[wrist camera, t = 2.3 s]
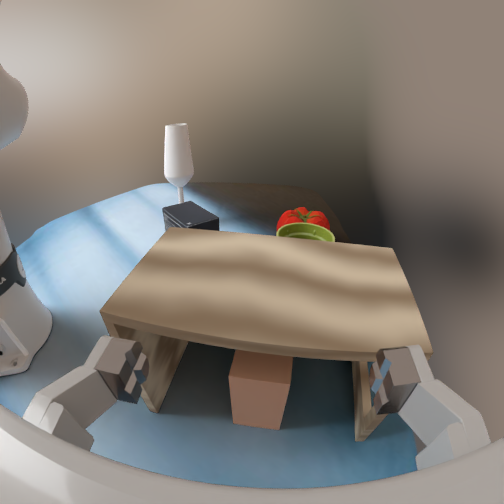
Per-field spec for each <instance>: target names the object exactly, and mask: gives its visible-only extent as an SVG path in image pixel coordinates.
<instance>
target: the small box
mask: <svg viewBox="0 0 504 504" xmlns="http://www.w3.org/2000/svg"><path fill="white" fill-rule="evenodd" d="M162 210H163V216H164V221H165V230H166V231H167V230H168V229H169V228H170V227H177V228H190V229H202V230H214V231H219V217H217V216H215V215H214V214H212V213H210V212H208V211H207V210H205V209H203V208H202V207H200V206H198V205H197V204H195V203H193V202H192V201H188V202H184V203H180V204H176V205H172V206H168V207H164V208H163V209H162Z"/></svg>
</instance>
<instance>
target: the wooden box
mask: <svg viewBox="0 0 504 504" xmlns="http://www.w3.org/2000/svg"><path fill="white" fill-rule="evenodd" d="M100 314H101V316H102V318H103V321H104V323H105V325H106V328H107V330H108V332H109V334H110V336H111V337H116V338H122V339H127V340H133V341H138V342H140V343H141V345H142V347H143V350H142V353H143V354H144V355H145V356H147V359H148V361H149V374H148V377H147V380H146V381H145V382H143V383H142V384H141V387H142V392H141V397H142V398H143V400H144V402H145V403H146V405H147V407H148V408H149V410H150V411H152V412H155V413H158V412H159V409H160V407H161V405H162V402H163V400H164V397H165V395H166V393H167V390H168V388H169V386H170V383H171V381H172V379H173V376H174V374H175V372H176V369H177V367H178V365H179V362H180V360H181V358H182V355H183V353H184V351H185V349H186V346H187V344H188V342H189V341H191V342H196V343H202V344H207V345H213V346H219V347H225V348H231V349H237V350H244V351H251V352H258V353H266V354H274V355H283V356H292V357H303V358H314V359H327V360H344V361H352V373H353V389H354V411H355V441H364V440H365V439H366V438H367V437H368V436H369V435H370V434H371V433H372V432H373V431H374V430H375V428H376V427H377V426H378V425H379V424H380V423H381V422H382V421H383V419H384V418H385V417H386V416H387V415H388V414H381V415H376V411H375V406H373V407H372V406H371V394H370V384H369V374H368V366H367V362H376V361H377V359H376V354H377V351H378V350H379V349H381V348H391V347H400V346H411V345H420V346H421V348H422V350H423V353H424V355H425V357H426V360H427V361H428V360H429V358H430V357H431V355H432V354H433V350H432V347H431V344H430V341H429V338H428V335H427V332H426V329H425V326H424V323H423V321H422V318H421V315H420V312H419V310H418V307H417V305H416V302H415V299H414V297H413V295H412V292H411V289H410V287H409V285H408V282H407V280H406V278H405V275H404V273H403V271H402V268H401V266H400V264H399V262H398V260H397V257H396V255H395V253H394V251H393V249H392V248H384V247H375V246H366V245H357V244H348V243H339V242H329V241H320V240H310V239H300V238H290V237H279V236H269V235H258V234H248V233H236V232H225V231H214V230H202V229H190V228H177V227H170V228H169V229H168V230H167V231H166V232H165V233H164V234H163V235H162V237H161V238H160V239H159V240H158V241H157V242H156V243H155V244H154V246H153V247H152V248H151V249H150V250H149V251H148V252H147V254H146V255H145V256H144V257H143V258H142V259H141V261H140V262H139V263H138V264H137V265H136V266H135V268H134V269H133V270H132V271H131V272H130V274H129V275H128V276H127V277H126V278H125V280H124V281H123V282H122V283H121V285H120V286H119V287H118V288H117V290H116V291H115V292H114V293H113V295H112V296H111V297H110V298H109V300H108V301H107V302H106V303H105V305H104V306H103V307H102V308H101V310H100Z"/></svg>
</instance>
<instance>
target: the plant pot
mask: <svg viewBox="0 0 504 504" xmlns="http://www.w3.org/2000/svg"><path fill="white" fill-rule="evenodd" d="M276 235H277V236H279V237H290V238H300V239H310V240H320V241H329V242H335V237H334V235H333V234H332V233H331V232H330V231H329V230H327V229H326V228H324V227H321V226H319V225H315V224H311V223H291V224H287V225H284V226H282V227H281V228H279V229H278V231H277V234H276Z"/></svg>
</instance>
